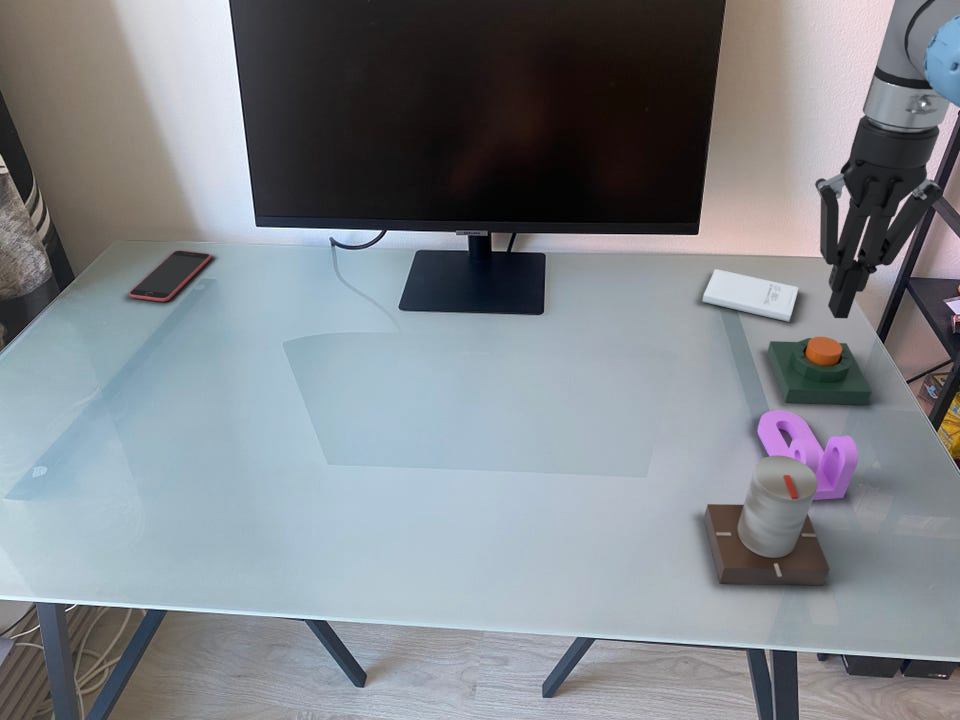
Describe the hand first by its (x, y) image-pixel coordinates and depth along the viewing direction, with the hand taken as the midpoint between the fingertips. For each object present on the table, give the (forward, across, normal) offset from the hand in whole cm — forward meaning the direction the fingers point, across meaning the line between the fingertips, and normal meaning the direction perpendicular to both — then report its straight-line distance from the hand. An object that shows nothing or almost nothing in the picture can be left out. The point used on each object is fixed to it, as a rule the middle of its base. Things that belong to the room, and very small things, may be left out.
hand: (837, 311), depth 91 cm
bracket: (+11, -6, -14) cm, 19 cm away
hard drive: (+11, -4, +19) cm, 22 cm away
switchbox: (+11, 0, 0) cm, 11 cm away
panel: (+11, -13, -28) cm, 33 cm away
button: (+7, 0, 0) cm, 7 cm away
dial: (+8, -13, -28) cm, 32 cm away
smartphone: (+11, -94, +21) cm, 97 cm away
